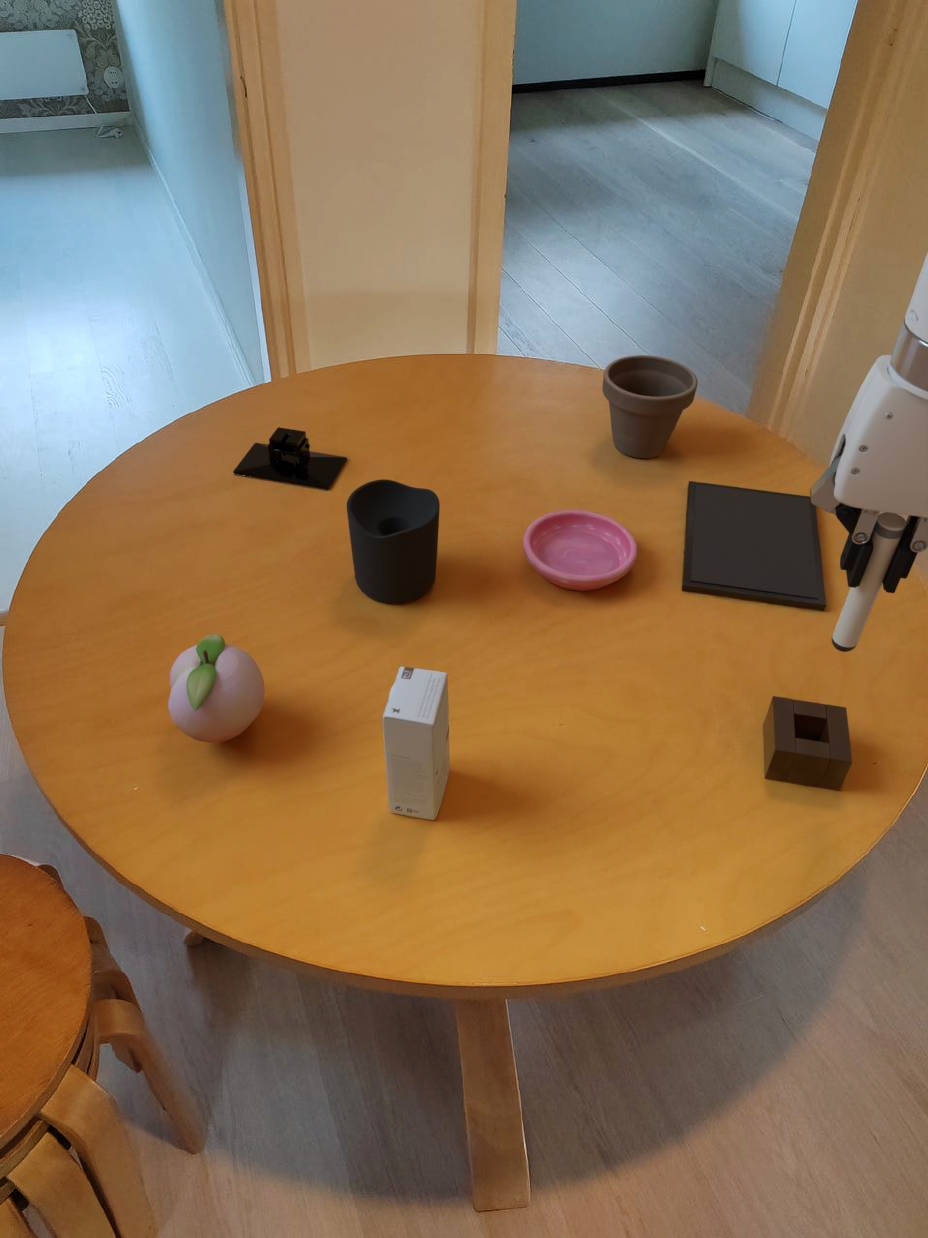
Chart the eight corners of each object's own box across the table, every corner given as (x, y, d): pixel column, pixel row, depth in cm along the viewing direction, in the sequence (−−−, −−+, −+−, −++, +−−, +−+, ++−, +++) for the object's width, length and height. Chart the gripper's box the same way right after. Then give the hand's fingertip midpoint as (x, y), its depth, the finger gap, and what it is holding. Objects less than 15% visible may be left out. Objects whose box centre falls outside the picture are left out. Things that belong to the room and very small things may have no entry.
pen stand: (834, 736, 92) (846, 707, 89) (839, 791, 87) (852, 762, 84) (762, 724, 92) (772, 695, 90) (764, 778, 88) (774, 749, 85)
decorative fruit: (272, 762, 88) (258, 684, 81) (178, 773, 87) (156, 696, 80) (268, 686, 95) (256, 609, 88) (181, 696, 93) (161, 618, 87)
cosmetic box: (436, 822, 83) (437, 727, 75) (385, 813, 84) (380, 718, 76) (451, 766, 88) (453, 671, 80) (402, 758, 88) (398, 663, 80)
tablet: (813, 502, 119) (815, 496, 118) (824, 611, 104) (827, 604, 104) (687, 486, 121) (689, 479, 120) (681, 590, 106) (683, 583, 106)
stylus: (853, 641, 81) (905, 513, 72) (855, 658, 79) (908, 530, 71) (827, 638, 81) (876, 509, 72) (829, 655, 80) (879, 526, 71)
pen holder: (416, 543, 111) (414, 469, 105) (454, 592, 105) (455, 516, 99) (338, 566, 108) (332, 491, 101) (373, 618, 102) (369, 542, 95)
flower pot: (643, 413, 133) (655, 344, 127) (702, 452, 126) (717, 382, 120) (576, 437, 129) (584, 367, 122) (634, 479, 122) (645, 407, 115)
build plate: (232, 475, 121) (227, 442, 118) (256, 444, 126) (251, 412, 123) (328, 490, 119) (325, 457, 115) (348, 458, 124) (346, 425, 121)
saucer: (587, 517, 116) (590, 495, 114) (657, 576, 108) (661, 553, 106) (499, 552, 111) (501, 529, 108) (566, 616, 103) (569, 593, 101)
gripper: (1073, 345, 64) (969, 563, 77) (824, 318, 67) (761, 534, 79) (1104, 402, 59) (987, 627, 71) (832, 371, 61) (763, 594, 74)
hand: (869, 577), depth 75 cm, fingers closed on stylus, 2 cm apart
